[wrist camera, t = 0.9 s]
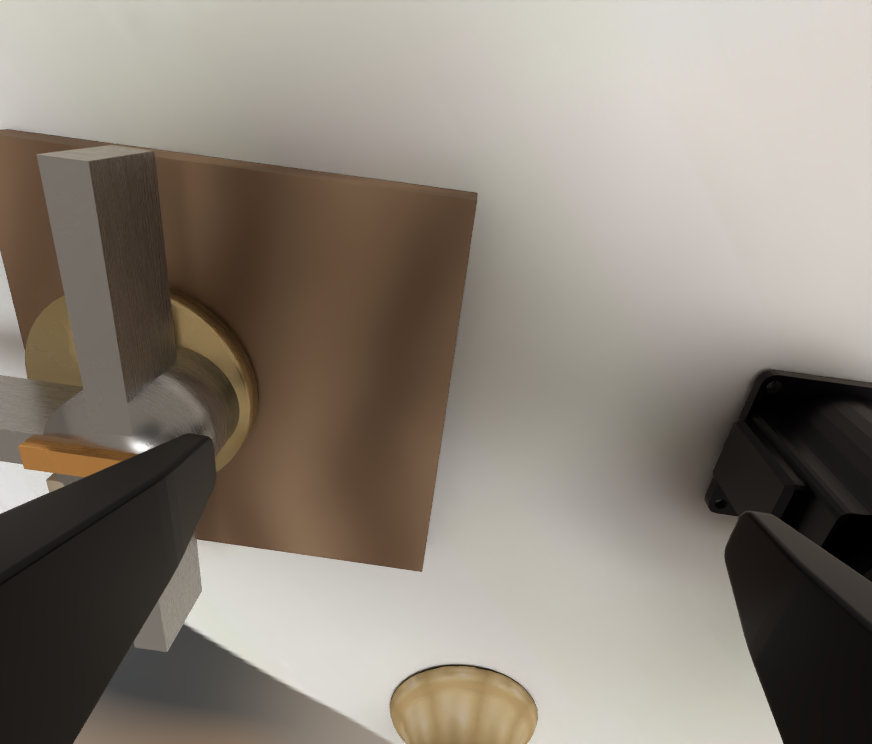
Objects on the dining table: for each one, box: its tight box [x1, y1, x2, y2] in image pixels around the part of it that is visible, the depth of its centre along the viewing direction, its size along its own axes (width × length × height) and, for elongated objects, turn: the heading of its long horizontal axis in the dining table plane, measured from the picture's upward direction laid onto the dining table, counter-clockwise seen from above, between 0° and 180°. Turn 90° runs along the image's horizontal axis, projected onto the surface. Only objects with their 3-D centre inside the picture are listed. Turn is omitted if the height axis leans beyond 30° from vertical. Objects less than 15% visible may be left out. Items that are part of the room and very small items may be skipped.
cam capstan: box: [0, 145, 258, 652], centre depth 18 cm, size 11×17×5 cm, turn 173°
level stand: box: [0, 129, 477, 572], centre depth 21 cm, size 16×16×3 cm
